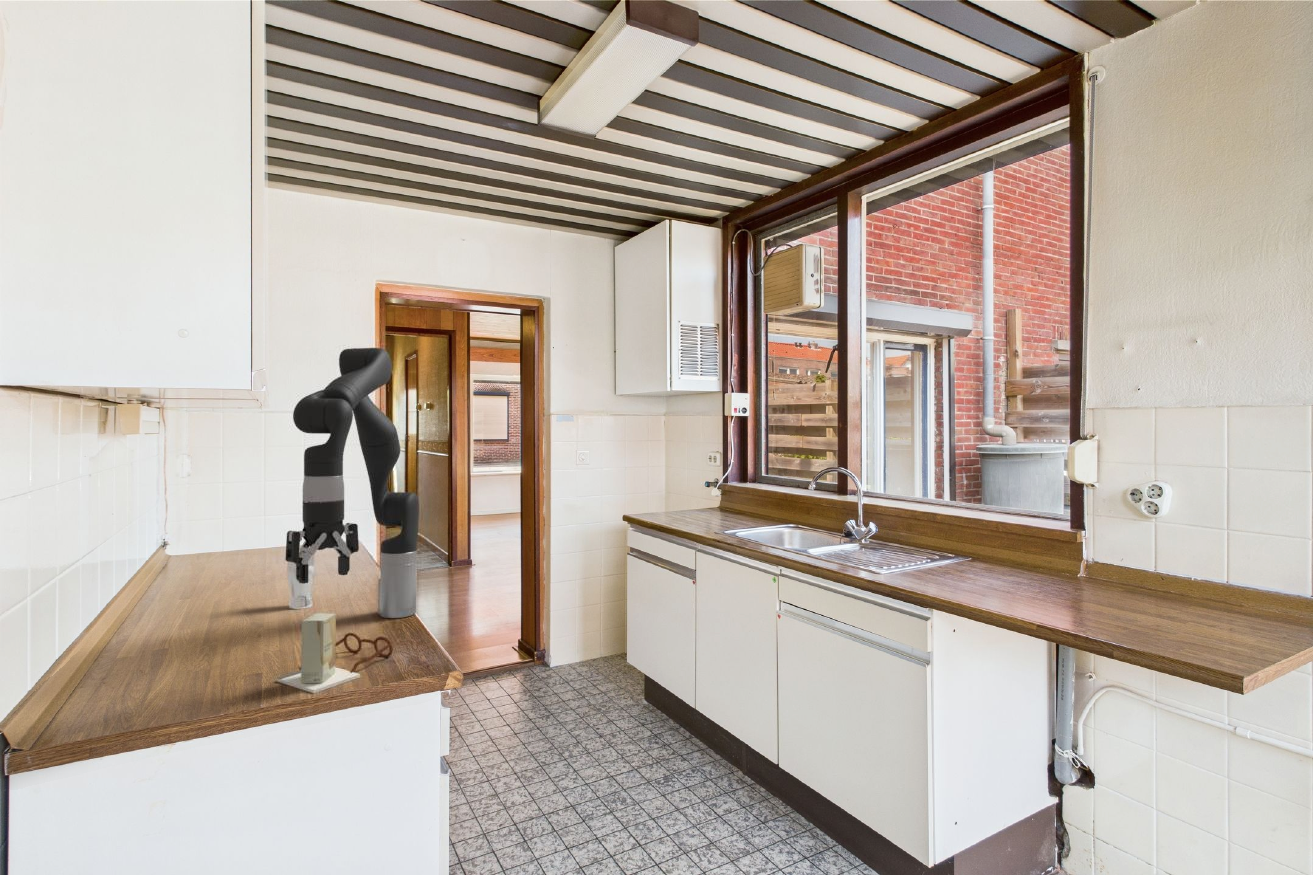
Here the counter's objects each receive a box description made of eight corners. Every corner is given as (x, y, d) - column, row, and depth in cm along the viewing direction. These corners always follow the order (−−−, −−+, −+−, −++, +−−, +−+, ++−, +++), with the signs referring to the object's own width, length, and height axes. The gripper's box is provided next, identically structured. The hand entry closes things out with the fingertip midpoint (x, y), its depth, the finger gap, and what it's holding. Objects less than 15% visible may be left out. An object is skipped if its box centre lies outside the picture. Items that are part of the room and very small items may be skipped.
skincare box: (323, 683, 131) (323, 620, 131) (299, 684, 131) (300, 621, 131) (336, 672, 138) (336, 612, 138) (314, 672, 138) (314, 612, 138)
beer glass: (306, 609, 188) (306, 556, 188) (281, 609, 188) (282, 555, 188) (319, 603, 195) (319, 551, 195) (295, 603, 195) (295, 551, 195)
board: (276, 681, 134) (276, 677, 134) (323, 666, 143) (323, 663, 143) (313, 693, 128) (313, 689, 128) (360, 677, 137) (360, 673, 137)
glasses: (393, 659, 149) (394, 636, 149) (349, 679, 137) (349, 654, 137) (346, 652, 153) (346, 630, 153) (298, 671, 141) (299, 647, 141)
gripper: (343, 494, 143) (343, 570, 144) (277, 500, 131) (277, 583, 131) (366, 496, 140) (366, 574, 140) (300, 502, 127) (300, 588, 128)
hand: (323, 578), depth 136 cm, fingers open, 8 cm apart
